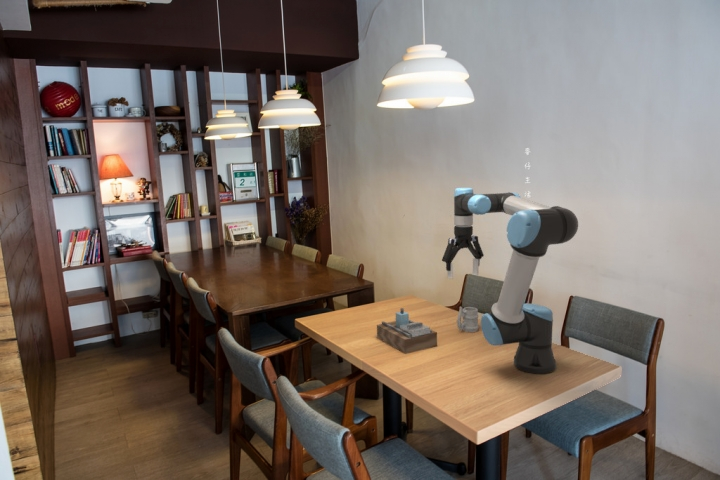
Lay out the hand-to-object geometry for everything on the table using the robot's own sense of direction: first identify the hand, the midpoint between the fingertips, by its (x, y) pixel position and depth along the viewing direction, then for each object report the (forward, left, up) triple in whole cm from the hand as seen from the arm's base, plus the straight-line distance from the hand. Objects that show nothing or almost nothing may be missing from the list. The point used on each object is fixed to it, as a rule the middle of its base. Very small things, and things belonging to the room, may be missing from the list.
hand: (463, 276), depth 218 cm
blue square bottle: (+16, +20, -29) cm, 38 cm away
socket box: (+13, +20, -29) cm, 37 cm away
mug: (+10, -11, -29) cm, 32 cm away
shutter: (+7, +20, -22) cm, 31 cm away
